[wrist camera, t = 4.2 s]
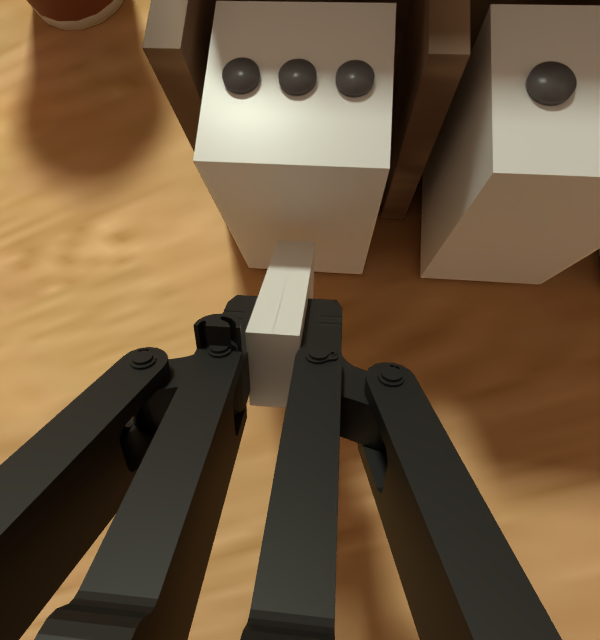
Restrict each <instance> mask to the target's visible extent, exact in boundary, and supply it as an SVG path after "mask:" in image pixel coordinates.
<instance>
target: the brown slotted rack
mask: <svg viewBox="0 0 600 640" xmlns="http://www.w3.org/2000/svg"><path fill="white" fill-rule="evenodd" d="M216 1H272V2H353V3H396V24H395V49H394V75H393V100H392V125H391V150H390V170H389V173H388V177H387V181H386V185H385V189H384V193H383V196H382V217H381V218H383V219H404V218H405V215H406V213H407V210H408V208H409V205H410V203H411V200H412V198H413V195H414V193H415V191H416V188H417V186H418V183H419V181H420V178H421V176H422V173H423V171H424V168H425V166H426V163H427V161H428V158H429V156H430V153H431V151H432V148H433V146H434V143H435V141H436V138H437V136H438V133H439V131H440V128H441V126H442V124H443V121H444V119H445V116H446V114H447V111H448V109H449V106H450V104H451V101H452V99H453V96H454V94H455V91H456V89H457V86H458V84H459V81H460V79H461V76H462V74H463V71H464V69H465V66H466V64H467V61H468V59H469V57H470V54H471V51H472V49H473V47H474V44H475V42H476V39H477V37H478V34H479V32H480V29H481V27H482V24H483V22H484V19H485V17H486V14H487V12H488V9H489V7H490V4H516V5H597V6H600V0H151V3H150V9H149V14H148V20H147V25H146V31H145V36H144V42H143V47H142V48H143V50H144V52H145V54H146V56H147V58H148V60H149V62H150V64H151V66H152V68H153V70H154V72H155V74H156V76H157V78H158V80H159V82H160V84H161V86H162V88H163V90H164V92H165V94H166V96H167V98H168V100H169V102H170V104H171V106H172V108H173V110H174V112H175V114H176V116H177V118H178V120H179V122H180V124H181V126H182V128H183V130H184V132H185V134H186V136H187V138H188V140H189V142H190V144H191V146H192V148H193V150H194V151H195V144H196V137H197V131H198V124H199V117H200V110H201V103H202V96H203V89H204V82H205V75H206V68H207V61H208V55H209V48H210V41H211V34H212V27H213V20H214V13H215V6H216Z"/></svg>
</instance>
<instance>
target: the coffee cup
mask: <svg viewBox="0 0 600 640" xmlns="http://www.w3.org/2000/svg"><path fill="white" fill-rule="evenodd" d="M27 1H28V2H29V4H30V5H31V6H32V8H33V9H34V11H35V12H36V13H37V14H38V15H39V16H40V17H41V18H42V19H43V20H44V21H45V22H46V23H47V24H48V25H51V26H54V27H57V28H59V29H62V30H84V29H87V28H89V27H92V26H95V25H98V24H100V23H103V22H104V21H105V20H106V19H108V18H109V17H110V16H112V15H113V14H114V13H115V12H117V11H118V9H119V8H120V6H121V4H122V3H123V1H124V0H27Z"/></svg>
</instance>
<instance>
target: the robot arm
mask: <svg viewBox="0 0 600 640" xmlns="http://www.w3.org/2000/svg"><path fill="white" fill-rule="evenodd" d="M314 265H315V242H306V241H286V240H278V242H277V245H276V247H275V250H274V253H273V256H272V259H271V261H270V264H269V267H268V270H267V273H266V275H265V278H264V281H263V284H262V287H261V289H260V292H259V295H258V296H244V295H237V296H235V297H234V298H233V299H231V300H230V301H229V302H228V303H227V305H226V307H225V309H224V312H223V314H212V315H208V316H205V317H203V318H201V319H199V320H198V321H197V322H196V323H195V324H194V332H195V339H196V346H197V350H196V352H195V354H194V355H191V356H187V357H183V358H175V359H168V356H167V354H166V353H165V352H164V351H163V350H161V349H159V348H153V347H146V348H139V349H136V350H133V351H131V352H129V353H128V354H126V355H125V356H123V357H122V358H121V359H120V360H119V361H117V362H116V363H115V364H114V365H113V366H112V367H111V368H110V369H108V370H107V371H106V372H105V373H104V374H103V375H102V376H101V377H99V378H98V379H97V380H96V381H95V382H94V383H93V384H91V385H90V386H89V387H88V388H87V389H86V390H85V391H84V392H82V393H81V394H80V395H79V396H78V397H77V398H76V399H75V400H73V401H72V402H71V403H70V404H69V405H68V406H67V407H65V408H64V409H63V410H62V411H61V412H60V413H59V414H58V415H56V416H55V417H54V418H53V419H52V420H51V421H50V422H49V423H47V424H46V425H45V426H44V427H43V428H42V429H41V430H40V431H38V432H37V433H36V434H35V435H34V436H33V437H32V438H30V439H29V440H28V441H27V442H26V443H25V444H24V445H23V446H21V447H20V448H19V449H18V450H17V451H16V452H15V453H14V454H12V455H11V456H10V457H9V458H8V459H7V460H6V461H4V462H3V463H2V464H1V465H0V640H19V639H20V638H21V636H22V635H23V634H24V633H25V631H26V630H27V629H28V627H29V626H30V625H31V623H32V622H33V621H34V620H35V618H36V617H37V616H38V614H39V613H40V612H41V610H42V609H43V608H44V607H45V605H46V604H47V603H48V601H49V600H50V599H51V597H52V596H53V595H54V594H55V592H56V591H57V590H58V588H59V587H60V586H61V584H62V583H63V582H64V581H65V579H66V578H67V577H68V575H69V574H70V573H71V571H72V570H73V569H74V567H75V566H76V565H77V564H78V562H79V561H80V560H81V558H82V557H83V556H84V554H85V553H86V552H87V551H88V549H89V548H90V547H91V545H92V544H93V543H94V541H95V540H96V539H97V538H98V536H99V535H100V534H101V532H102V531H103V530H104V528H105V527H106V526H107V525H108V523H109V522H110V521H111V519H112V518H113V517H114V515H115V514H116V515H115V517H114V519H113V521H112V523H111V525H110V527H109V529H108V531H107V533H106V536H105V538H104V540H103V542H102V544H101V546H100V548H99V550H98V552H97V554H96V556H95V558H94V560H93V562H92V564H91V566H90V568H89V570H88V572H87V574H86V576H85V578H84V580H83V583H82V585H81V587H80V589H79V591H78V592H77V594H76V596H75V597H74V599H73V600H72V601H71V602H70V603H69V604H67V605H64V606H62V607H59V608H57V609H56V610H55V611H54V612H53V613H52V614H51V615H50V616H49V617H48V618H47V619H46V621H45V622H44V624H43V625H42V627H41V629H40V630H39V632H38V633H37V635H36V637H35V639H34V640H187V639H188V636H189V632H190V628H191V625H192V621H193V617H194V613H195V610H196V606H197V602H198V598H199V595H200V591H201V587H202V583H203V580H204V576H205V572H206V568H207V565H208V561H209V557H210V554H211V550H212V546H213V542H214V539H215V535H216V531H217V527H218V524H219V520H220V516H221V512H222V509H223V505H224V501H225V497H226V494H227V490H228V486H229V483H230V479H231V475H232V471H233V468H234V464H235V460H236V456H237V453H238V449H239V445H240V441H241V438H242V434H243V430H244V426H245V423H246V419H247V408H246V404H247V400H248V397H250V405H256V406H268V407H281V408H286V411H285V416H284V422H283V428H282V433H281V439H280V445H279V450H278V456H277V462H276V467H275V473H274V479H273V484H272V490H271V496H270V501H269V507H268V513H267V518H266V524H265V530H264V536H263V541H262V547H261V553H260V558H259V564H258V570H257V575H256V581H255V587H254V592H253V598H252V604H251V609H250V614H249V619H248V622H247V625H246V626H245V628H244V630H243V633H242V636H241V639H240V640H335V635H334V623H335V586H336V550H337V515H338V479H339V443H340V436H341V437H343V438H346V439H349V440H352V441H354V442H357V443H358V449H359V452H360V455H361V459H362V462H363V465H364V468H365V471H366V474H367V477H368V480H369V483H370V486H371V490H372V493H373V496H374V499H375V502H376V505H377V508H378V511H379V514H380V518H381V521H382V524H383V527H384V530H385V533H386V536H387V539H388V542H389V545H390V549H391V552H392V555H393V558H394V561H395V564H396V567H397V570H398V573H399V576H400V580H401V583H402V586H403V589H404V592H405V595H406V598H407V601H408V604H409V608H410V611H411V614H412V617H413V620H414V623H415V626H416V629H417V632H418V635H419V639H420V640H562V639H561V637H560V635H559V633H558V632H557V630H556V628H555V626H554V624H553V623H552V621H551V619H550V617H549V615H548V614H547V612H546V610H545V608H544V607H543V605H542V603H541V601H540V599H539V598H538V596H537V594H536V592H535V590H534V589H533V587H532V585H531V583H530V581H529V580H528V578H527V576H526V574H525V573H524V571H523V569H522V567H521V565H520V564H519V562H518V560H517V558H516V556H515V555H514V553H513V551H512V549H511V547H510V546H509V544H508V542H507V540H506V538H505V537H504V535H503V533H502V531H501V530H500V528H499V526H498V524H497V522H496V521H495V519H494V517H493V515H492V513H491V512H490V510H489V508H488V506H487V504H486V503H485V501H484V499H483V497H482V496H481V494H480V492H479V490H478V488H477V487H476V485H475V483H474V481H473V479H472V478H471V476H470V474H469V472H468V470H467V469H466V467H465V465H464V463H463V462H462V460H461V458H460V456H459V454H458V453H457V451H456V449H455V447H454V445H453V444H452V442H451V440H450V438H449V436H448V435H447V433H446V431H445V429H444V428H443V426H442V424H441V422H440V420H439V419H438V417H437V415H436V413H435V411H434V410H433V408H432V406H431V404H430V402H429V401H428V399H427V397H426V395H425V394H424V392H423V390H422V388H421V386H420V385H419V383H418V381H417V379H416V377H415V376H414V375H413V373H412V372H411V371H410V370H409V369H407V368H405V367H403V366H402V365H398V364H395V363H379V364H375V365H373V366H372V367H370V368H369V369H368V371H366V370H362V369H359V368H357V367H354V366H352V365H351V364H349V363H348V362H347V361H346V360H345V359H344V358H343V356H342V352H341V339H342V307H341V306H340V304H339V303H338V301H337V300H327V299H313V293H314Z"/></svg>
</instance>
